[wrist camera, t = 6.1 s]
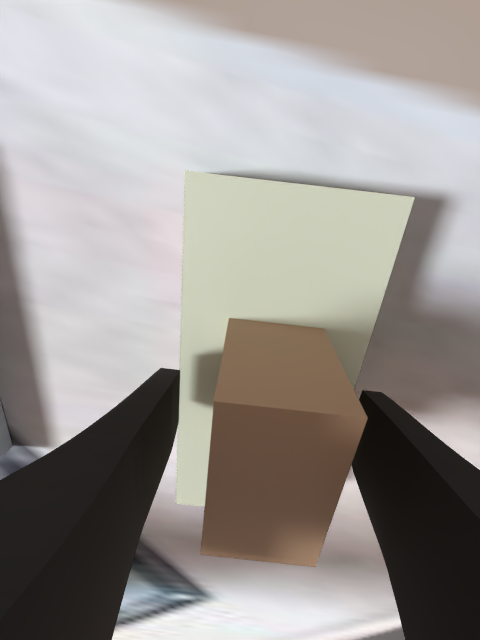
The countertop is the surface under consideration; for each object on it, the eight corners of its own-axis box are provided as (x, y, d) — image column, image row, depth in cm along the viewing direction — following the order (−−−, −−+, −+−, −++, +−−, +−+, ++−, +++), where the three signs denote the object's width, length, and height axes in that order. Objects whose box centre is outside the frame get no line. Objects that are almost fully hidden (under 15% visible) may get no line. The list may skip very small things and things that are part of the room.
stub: (307, 481, 15) (336, 645, 10) (184, 468, 15) (146, 625, 10) (387, 194, 10) (551, 209, 4) (196, 172, 10) (126, 160, 4)
